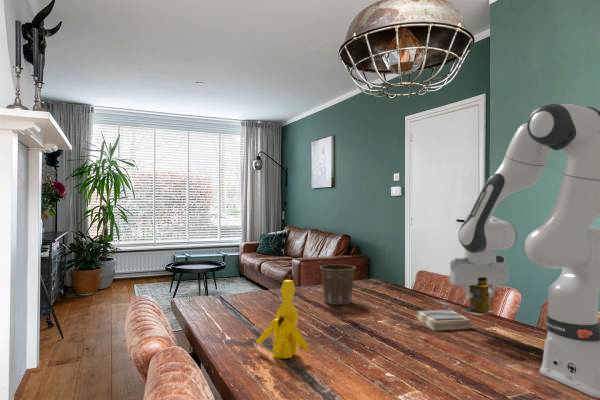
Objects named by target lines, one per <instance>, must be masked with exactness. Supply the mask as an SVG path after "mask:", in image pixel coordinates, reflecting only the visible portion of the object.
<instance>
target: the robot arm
mask: <svg viewBox="0 0 600 400" xmlns="http://www.w3.org/2000/svg"><path fill="white" fill-rule="evenodd" d="M553 150H554V151H560V150H562V151H563V152H564V154H565V165H564V168H563V174H562V176H561V182H560V186H559V190H558V194H557V198H556V200H555V203H554V205H553V207H552V209H551V210H550V212H549V213H548V216H547V217H546V218H545V220H544V221H543V222H542V223H541V224H540V225H539V226H538V227H537V228H535V229H534V230H533V231H531V232H530V233H528V235H527V236H526V238H525V241H524V251H525V255H526V257H527V259H528V260H529V261H530V262H531V263H532V264H533V265H535V266H539V267H542V268H547V269H548V268H549V269H553V270H554V269H555V270H556V269H562V270H561V273H560V275H559V277H558V278H557V279H556V280H555V281H554V282H553V283H551V284H550V285H549V288H548V290H547V295H548V297H547V298H548V300H547V303H548V304H547V307H548V309H547V311H548V314H546V318H545V319H546V320H545V324H546V325H545V326H546V327H545V328H546V330H547V336H546V338H545V341H544V347H543V357H542V361H541V367H540V369H539V373H540V374H541V375H542V376H545V377H548V378H550V379H552V380H554V381H557V382H559V383H561V384H563V385H566V386H568V387H569V388H573V389H575V390H577V391H579V392H581V393H583V394H585V395H587V396H590V397H593V398H596V399H600V321H599V317H598V316H599V295H600V227H597V226H591V225H592V224H593V223H594V221H596V219H598V217H600V110H598V109H596V108H595V107H591V106H582V105H577V104H573V103H564V104H563V103H561V104H559V103H550V104H549V103H548V104H545V105H543V106H540V107H537V109H535V110H534V111H532V113H531V114H530V116H528V119H527V122H526V123H523V124H521V125H520V126H519V127H518V128H517V130H516V131H515V133H514V135H513V137H512V138H511V140H510V143H509V145H508V147H507V149H506V153H505V155H504V157H503V160H502V162H501V163H500V165H499V167H498V168H497V170H495V172H494V173H493V174H492V175H491V176H489V178H488V179H487V180H486V182H485V183H484V184H483V186H482V189H481V191H480V193H479V195H478V196H477V199H476V201H475V203H474V205H473V207H472V209H471V211H469V212H467V213H466V215H465V218H464V221H463V223H462V225H461V226H460V228H459V231H458V241H459V243H460V245H461V246H462V247H463V250H464V257H459V258H458V257H455V258H454V259H452V260H451V261H450V262H449V265H450V267H449V269H450V272H449V283H450V284H451V285H452V286H455V287H462V289H463V291H464V292H465V298H466V299H468V300H470V299H472V298H473V294H472V293H470V291H469V289H470V285H477V284H478V278H484V277H486V278H487V285H488V288H489V299H490V298H491V299H492V298H493V296H494V295H493V294H494V291H495V289H496V288H497V287H496V286H497V285H506V284H508V282H509V280H510V279H509V277H510V276H509V268H508V265H507V264H506V263H507V257H506V256H503V255H500V254H498V253H494V252H495V251H505V250H508V249H512V248H513V247H514V246H515V245H516V243H517V238H518V235H517V229H516V227H515V225H514V224H512V223H511V222H510V221H508V220H507V221H506V220H503V219H501V218H500V219H499V218H498V217H496V216H495V215H494V212H496V209H497V206H498V205H499V204H500V202H501V201H502V200H503V199H505V198H506V197H508V196H510V195H513V194H515V193H517V192H521V191H523V190H527V189H528V188H530V187H533V186H534V185H536V183H537V182H538V181H539V180H540V178H541V176H542V174H544V173H543V172H544V170H545V168H546V164H547V162H548V159H549V157H550V154H551V152H552V151H553ZM493 251H494V252H493Z"/></svg>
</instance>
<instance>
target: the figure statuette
mask: <svg viewBox="0 0 600 400" xmlns="http://www.w3.org/2000/svg"><path fill="white" fill-rule="evenodd" d="M281 284H282V285H281V287H280V293H281V297H282V304H281V305H280V306H279V307H278V308H277V311H276V313H275V316H276V317H275V319H273V320H272V321H271V323H270V325H269V326H268V327H267V328H266V329H265V330H264V331H263V332H262V334H261V335H260V336H259V337H258V339H257V340H256V341H255V343H257V344H259V345H261V344H262V343H263V342H264V341H266V339H267V338H268V337H269V336H271V335H272V333H273V345H272V357H273V358H275V359H282V360H283V359H291V358H292V357H293V356H295V355H296V354H298V352H299V350H300V347H301V348H302V349H303V350H304V351H305V352H306V353H307V352H309V351H310V349H309V347H308V345H307V343H306V341H305V339H304V338H303V336H302V334H301V333H300V331H299V329H298V327H297V326H298V321H299V311H298V309H297V307H296V306H295V304H294V303H293V299H294V296H295V293H296V287H295V282H294V280H290V279H285V280H283V281H282V283H281Z"/></svg>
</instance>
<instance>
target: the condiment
mask: <svg viewBox="0 0 600 400" xmlns="http://www.w3.org/2000/svg"><path fill="white" fill-rule="evenodd" d="M489 288H490V287H488V285H487V278H486V277H484V278H478V284H477V285H470V289H469V291H470V293H472V294H473V298H472V299H469V308H464V309H460V311H461V312H465V313H467V314H468V313H469V314H473V315H477V316H483V315H487V314H493V313H495V310H494V311H493V310H489V309H490V308H489V305H490V300H489V299H490V298H489Z"/></svg>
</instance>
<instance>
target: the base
mask: <svg viewBox="0 0 600 400" xmlns="http://www.w3.org/2000/svg"><path fill="white" fill-rule="evenodd" d="M416 319H417V320H418V321H419V322H421V323H423V325H426V326H427V327H428V328H430V329H431V330H433V331H446V330H447V331H449V330H464V329H465V330H466V329H471V328H472V327H471V322H472V321H471V319H469V318H467V317H466V316H463V315H462V314H460V313H457V312H455V311H454V310H452V309H439V310H438V309H435V310H417V311H416Z"/></svg>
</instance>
